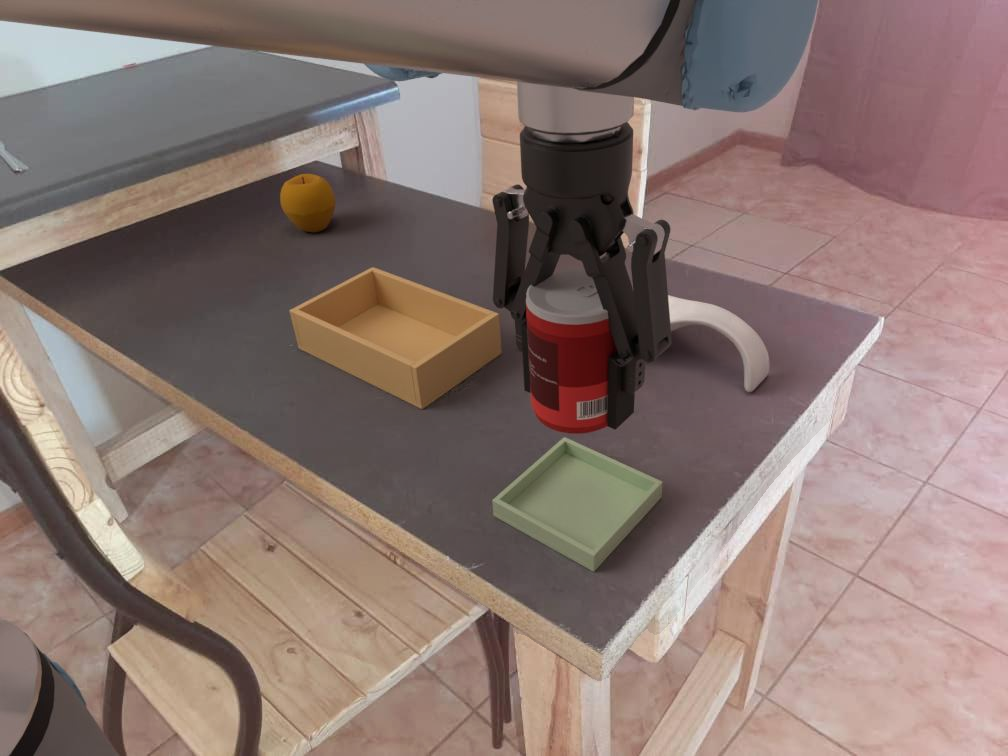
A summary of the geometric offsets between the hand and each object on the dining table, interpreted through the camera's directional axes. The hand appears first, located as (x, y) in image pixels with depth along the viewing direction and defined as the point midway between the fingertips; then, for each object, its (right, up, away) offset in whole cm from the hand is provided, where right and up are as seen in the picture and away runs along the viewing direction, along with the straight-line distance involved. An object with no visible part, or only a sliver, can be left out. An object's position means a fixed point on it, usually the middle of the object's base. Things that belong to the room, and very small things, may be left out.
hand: (577, 401), depth 64 cm
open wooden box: (-19, +5, +30) cm, 36 cm away
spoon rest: (+13, +5, +27) cm, 30 cm away
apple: (-37, +26, +63) cm, 77 cm away
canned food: (0, -1, +1) cm, 1 cm away
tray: (+1, -10, +7) cm, 12 cm away
